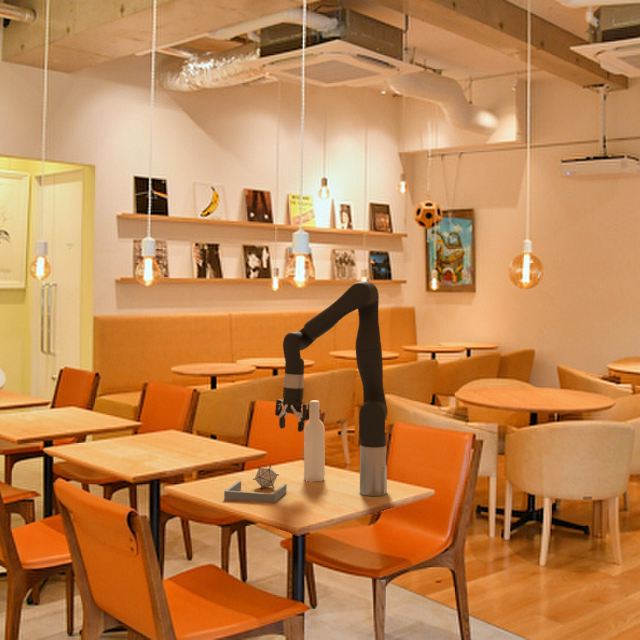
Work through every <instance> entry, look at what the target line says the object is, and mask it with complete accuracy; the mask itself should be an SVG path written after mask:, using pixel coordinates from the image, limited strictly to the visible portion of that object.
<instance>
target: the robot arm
mask: <svg viewBox="0 0 640 640" xmlns="http://www.w3.org/2000/svg"><path fill="white" fill-rule="evenodd" d="M379 298H380V297H379V291H378V288H377V286H376V285H375V284H374V283H373V282H371V281H358V282H355V283H353V284H352V285H350V287H349V288H347V290H346V291H344V293H342V294H341V296H340V297H339V298H338V299H336V301H334V302H333V303H332V304H330V305H329V306H328V307H326V308H325V309H324V310H322V311H320V313H318V314H317V315H315V316H313V317H312V318H311V319H309V320H308V321H307V322H306V323H305V324H304V326H303V328H301V329H300V330H298V331H291V332H288V333H287V334H285V336H284V338H283V341H282V350H283V357H284V362H285V364H284V377H283V386H282V389H283V390H282V399H281V398H279V399H277V400H276V402H275V410H274V415H275V416H277V417H278V419H279V420H278V426H279V428H280V429H285V427H286V417H287V415H288V414H292V415H295V417H296V418H297V420H298V422H297V432H298V433H299V432H300V433H301V432H303V431H304V428H305V421H309V420H310V403H303V399H304V390H305V389H304V388H305V374H304V373H305V361H304V359H303V358H301V351H303V350H305V349H307V348H308V347H310V346H311V345H312V344H313V343H314V342H315V341H316V340H317V339H318V338H320V337H322V336H323V335H324V334H326V333H327V332H329V331H330V330H332V328H334V326H336V325H337V323H339V321H340V320H342V319H343V318H344V317H345V316H347V315H349V314H350V313H352V312H355V311H357V312H358V313H357V314H358V327H357V333H356V339H355V359H356V360H355V361H356V367H357V369H358V373H359V376H360V380H361V384H362V389H363V390H362V393H363V403H362V404H363V405H362V406H361V407H360V409H359V412H358V413H359V414H358V435H359V436H358V437H359V493H360V495H362V496H367V497H378V496H381V497H382V496H383V497H385V495H386V494H387V491H388V484H387V483H388V466H387V437H386V419H387V417H388V405H387V402H386V395H385V390H384V382H383V381H384V379H383V378H384V366H383V363H384V362H383V350H382V343H381V342H382V341H381V331H380V322H379V302H380V301H379Z"/></svg>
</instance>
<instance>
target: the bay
mask: <svg viewBox="0 0 640 640" xmlns="http://www.w3.org/2000/svg"><path fill="white" fill-rule="evenodd" d="M287 487H288V486H287V483H283V484H282V485H281V486H279V488H278V489H276V490H275V491H274V492H273V493H271V492H269V493H268V492H256V491H254V492H253V491H240V490H242V480H238V481H236V482H235V483H233V484H232V485H230V486H229V487H228V488H227V489H226V490H224V493H223V494H224V499H223V501H234V502H235V501H236V502H249V501H253V503H264V504H265V503H267V504H275V503H276V504H277V502H278V501H279V500H280V499H281V498H282V497H283V496H284V495H285V494H286V493H287Z"/></svg>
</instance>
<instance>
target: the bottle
mask: <svg viewBox="0 0 640 640" xmlns="http://www.w3.org/2000/svg"><path fill="white" fill-rule="evenodd" d="M320 407H321V404H320V401H319V400H316V399H315V400H314V399H313V400H310V401H309V420H307V422H305V424H304V430H303V431H304V433H303V446H304V447H303V449H304V450H303V480H304V479H305V480H307V481H306V482H309V481H320V482H323V481H325V476H326V471H325V468H326V467H325V464H326V463H325V461H326V460H325V459H326V458H325V457H326V456H325V455H326V453H325V451H326V449H325V447H326V446H325V445H326V443H325V441H326V440H325V439H326V435H325V434H326V431H325V430H326V428H325V425H324V423H323V421H322V420H321V419H320ZM305 480H304V481H305ZM322 480H323V481H322Z"/></svg>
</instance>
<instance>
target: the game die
mask: <svg viewBox="0 0 640 640" xmlns="http://www.w3.org/2000/svg"><path fill="white" fill-rule="evenodd" d="M278 476H280V474H277V473H276V472H275V471H274V470H273V468H272V464H270V465H269V466H264V467H260V466H257V472H256V474H255V477H254V478H252V480H253V481H256V483H258V485H259V486H260V490H263V488H268V487H272V488H273V489H275V486H274V484H275V482H276V480H277V477H278Z"/></svg>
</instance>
